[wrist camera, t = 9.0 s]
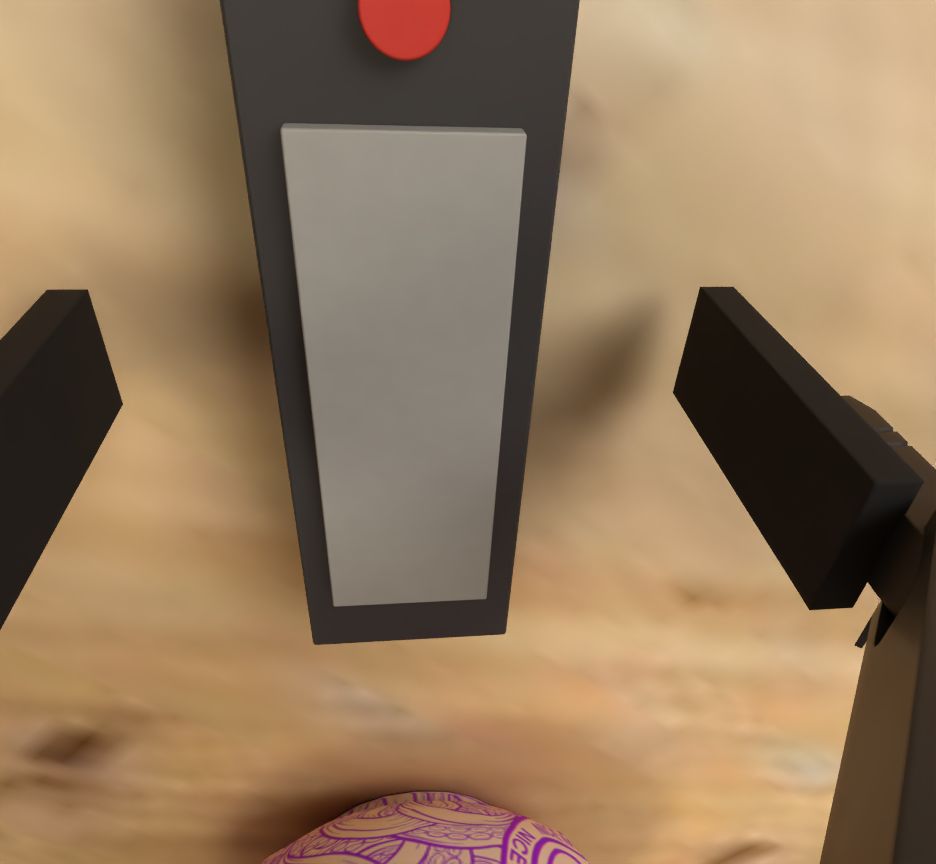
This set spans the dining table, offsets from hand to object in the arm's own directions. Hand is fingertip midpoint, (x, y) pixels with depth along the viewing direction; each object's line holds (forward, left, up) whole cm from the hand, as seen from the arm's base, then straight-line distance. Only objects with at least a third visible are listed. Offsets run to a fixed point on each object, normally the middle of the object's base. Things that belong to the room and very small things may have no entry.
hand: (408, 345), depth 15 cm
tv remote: (0, 0, -1) cm, 1 cm away
